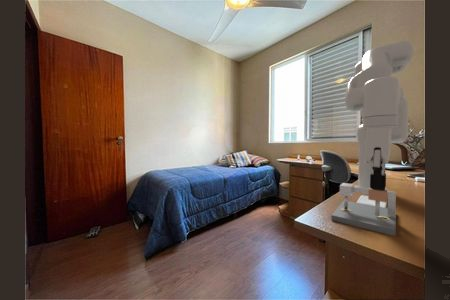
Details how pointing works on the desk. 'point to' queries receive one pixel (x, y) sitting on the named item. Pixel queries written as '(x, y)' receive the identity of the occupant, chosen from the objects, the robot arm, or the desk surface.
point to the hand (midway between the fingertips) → (377, 187)
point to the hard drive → (370, 201)
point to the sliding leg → (377, 197)
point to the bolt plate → (365, 217)
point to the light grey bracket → (350, 189)
